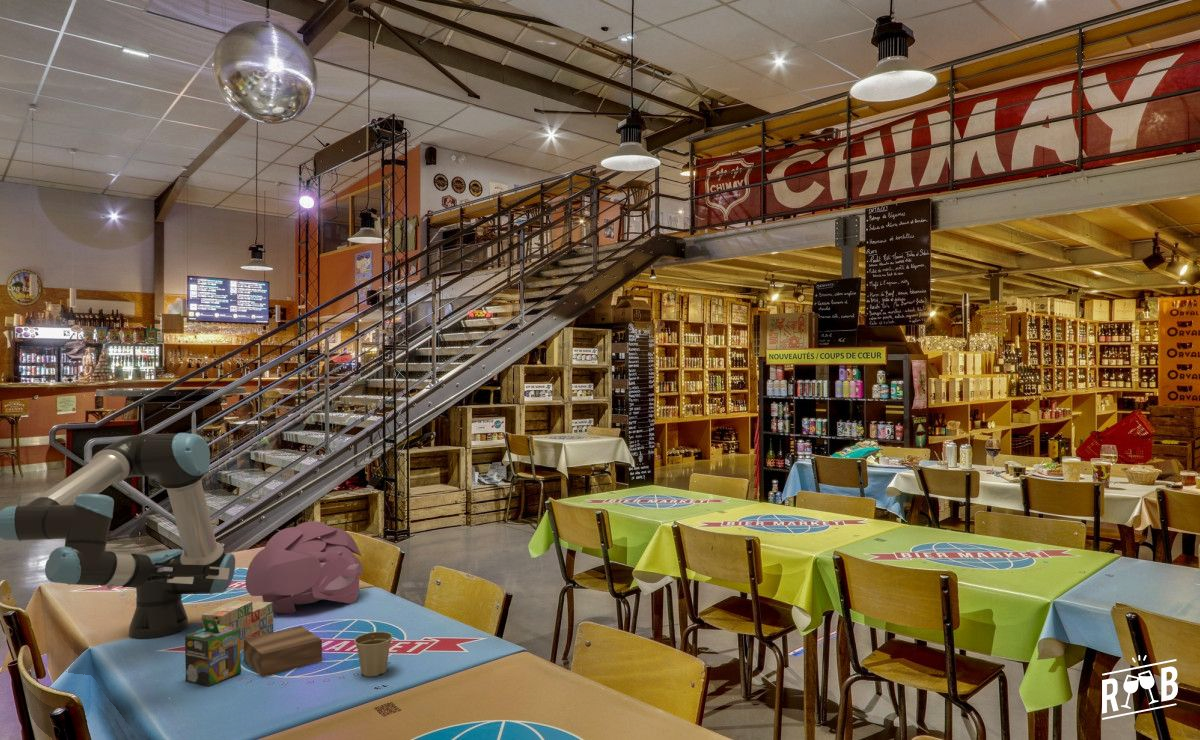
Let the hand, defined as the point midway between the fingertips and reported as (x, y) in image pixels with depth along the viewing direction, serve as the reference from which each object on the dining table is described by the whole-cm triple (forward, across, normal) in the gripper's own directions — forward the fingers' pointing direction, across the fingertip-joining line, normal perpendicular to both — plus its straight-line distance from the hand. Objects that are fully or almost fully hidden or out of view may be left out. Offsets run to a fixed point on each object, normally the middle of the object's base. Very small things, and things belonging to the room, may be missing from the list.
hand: (210, 576), depth 182 cm
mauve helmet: (+57, -25, -3) cm, 62 cm away
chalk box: (+6, -2, -24) cm, 25 cm away
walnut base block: (+21, +6, -21) cm, 30 cm away
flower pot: (+26, +33, -25) cm, 49 cm away
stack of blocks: (+22, -14, -17) cm, 31 cm away
